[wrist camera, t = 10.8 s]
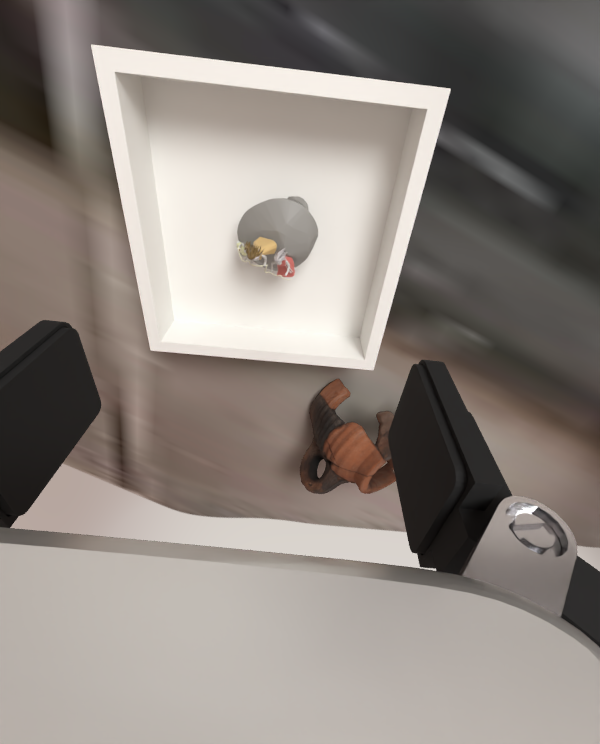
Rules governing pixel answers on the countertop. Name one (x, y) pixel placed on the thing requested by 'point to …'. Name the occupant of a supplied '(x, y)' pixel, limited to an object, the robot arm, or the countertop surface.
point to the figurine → (277, 235)
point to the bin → (260, 183)
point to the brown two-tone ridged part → (345, 448)
